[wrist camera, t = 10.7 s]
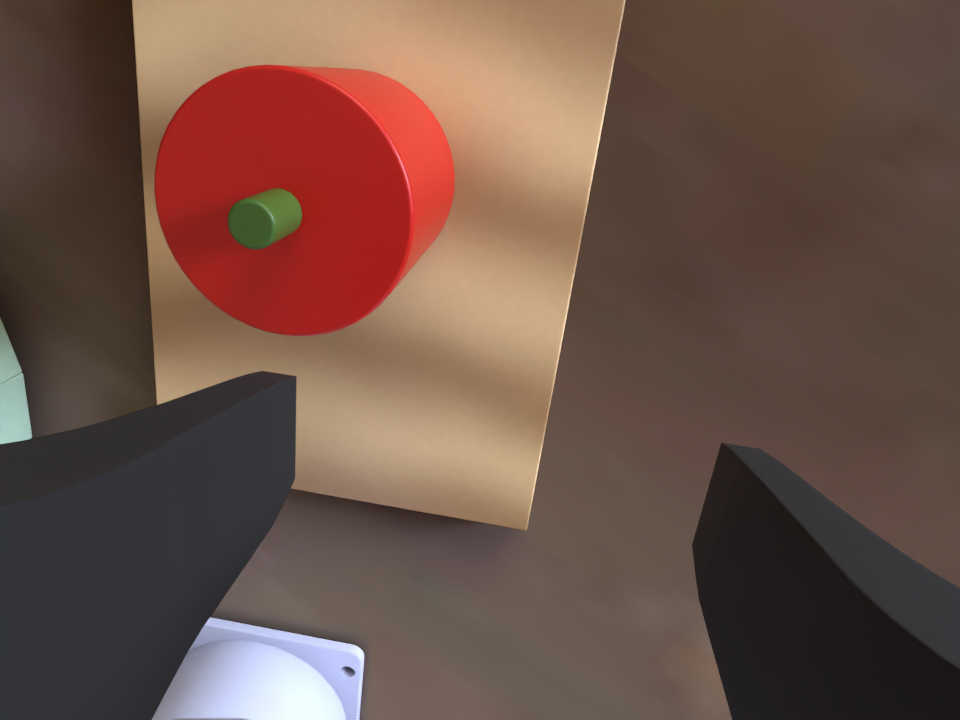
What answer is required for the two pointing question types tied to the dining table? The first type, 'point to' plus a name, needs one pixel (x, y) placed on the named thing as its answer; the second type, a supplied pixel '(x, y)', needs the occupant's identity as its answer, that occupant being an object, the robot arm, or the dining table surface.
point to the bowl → (12, 395)
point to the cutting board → (445, 264)
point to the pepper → (301, 193)
